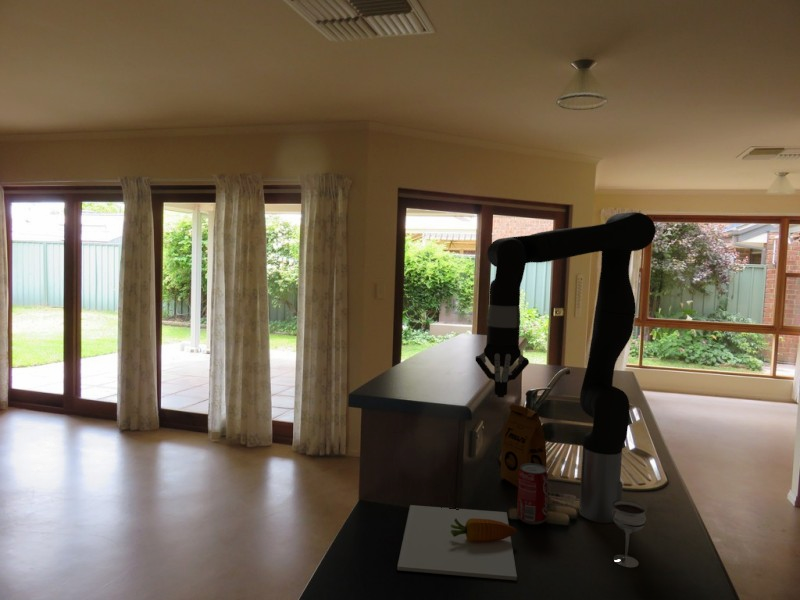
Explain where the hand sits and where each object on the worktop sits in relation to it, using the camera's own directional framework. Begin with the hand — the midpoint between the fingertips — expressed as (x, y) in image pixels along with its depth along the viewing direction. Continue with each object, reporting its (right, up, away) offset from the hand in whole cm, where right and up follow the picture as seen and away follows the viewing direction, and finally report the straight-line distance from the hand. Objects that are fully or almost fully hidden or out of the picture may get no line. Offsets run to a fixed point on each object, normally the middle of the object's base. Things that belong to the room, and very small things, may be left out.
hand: (500, 396), depth 135 cm
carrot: (+3, -29, -7) cm, 30 cm away
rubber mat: (-11, -31, -6) cm, 34 cm away
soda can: (+8, -31, +5) cm, 33 cm away
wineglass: (+25, -33, -13) cm, 43 cm away
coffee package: (+11, -29, +26) cm, 40 cm away
